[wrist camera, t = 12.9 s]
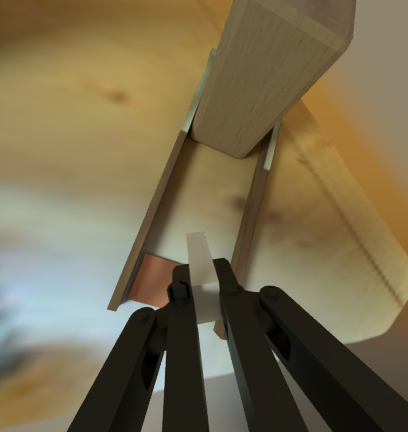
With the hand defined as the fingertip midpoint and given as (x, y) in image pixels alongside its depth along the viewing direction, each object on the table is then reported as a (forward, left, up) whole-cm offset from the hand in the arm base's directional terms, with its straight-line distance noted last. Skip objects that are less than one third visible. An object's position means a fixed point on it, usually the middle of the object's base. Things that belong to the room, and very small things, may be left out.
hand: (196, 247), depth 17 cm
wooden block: (0, +22, -12) cm, 25 cm away
